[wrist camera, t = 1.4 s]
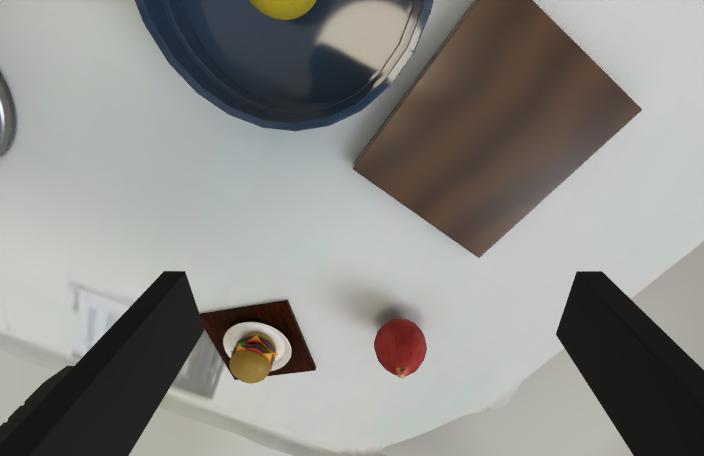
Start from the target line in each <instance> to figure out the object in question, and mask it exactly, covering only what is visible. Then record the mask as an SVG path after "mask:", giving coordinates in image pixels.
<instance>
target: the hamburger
mask: <svg viewBox="0 0 704 456" xmlns="http://www.w3.org/2000/svg"><path fill="white" fill-rule="evenodd" d="M199 315H200V318H201V321H202V324H203V327H204V328H205V330H206V332H207V333H208V335H209V337H210V339H211V340H212V342H213V344H214V345H215V347H216V349H217V350H218V352H219V354H220V355H221V357H222V359H223V360H224V362H225V364H226V366H227V367H228V369H229V371H230V372H231V374H232V376H233V377H234V379H235V380H238V379H239V380H241V381H243V382H246V383H257V382H259V381H261V380H263V379H264V378H265V377H266V376H271V375H280V374H288V373H297V372H305V371H314V370H316V366H315V364H314V362H313V359H312V357H311V354H310V352H309V350H308V347H307V345H306V343H305V340H304V338H303V335H302V333H301V331H300V328H299V326H298V323H297V321H296V319H295V316H294V314H293V312H292V309H291V307H290V304H289V302H288V300H286V301H279V302H273V303H267V304H260V305H254V306H248V307H241V308H235V309H228V310H222V311H216V312H209V313H203V314H199Z"/></svg>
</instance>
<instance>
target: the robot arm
mask: <svg viewBox="0 0 704 456" xmlns="http://www.w3.org/2000/svg"><path fill="white" fill-rule="evenodd" d="M14 133H15V112H14V107H13V103H12V99H11V96H10V93H9V91H8V88H7V86H6V84H5V81H4V79H3V77H2V75H1V74H0V157H1V156H2V155H3V154H4V153H5V152H6V151H7V150H8V148H9V147H10V145H11V143H12V140H13V137H14ZM203 331H204V327H203V324H202V321H201V318H200V315H199V312H198V309H197V306H196V303H195V300H194V297H193V294H192V291H191V288H190V285H189V282H188V279H187V276H186V273H185V271H164V272H163V273H162V274H161V275H160V276H159V277H158V278H157V279H156V280H155V282H154V283H153V284H152V285H151V286H150V287H149V288H148V289H147V290H146V291H145V292H144V293H143V294H142V295H141V296H140V297H139V298H138V299H137V301H136V302H135V303H134V304H133V305H132V306H131V307H130V308H129V309H128V310H127V311H126V312H125V313H124V314H123V315H122V316H121V317H120V318H119V320H118V321H117V322H116V323H115V324H114V325H113V326H112V327H111V328H110V329H109V330H108V331H107V332H106V333H105V334H104V335H103V336H102V337H101V339H100V340H99V341H98V342H97V343H96V344H95V345H94V346H93V347H92V348H91V349H90V350H89V351H88V352H87V353H86V354H85V355H84V356H83V358H82V359H81V360H80V361H79V362H78V363H77V364H76V365H75V366H67V367H65V368H64V369H62V370H61V371H59V372H58V373H57V374H55V375H54V376H52V377H51V378H49V379H48V380H46V381H45V382H44V383H43V384H42V385H41V386H40V387H39V388H38V389H37V390H36V391H35V392H34V393H33V394H32V395H31V396H30V397H29V398H28V399H27V400H26V401H25V404H24V405H23V406H20V407H19V408H18V409H17V410H16V411H15V412H14V413H13V414H12V415H11V416H10V417H9V418H8V421H7V422H6V423H3V424H2V425H1V426H0V456H128V455H129V453H130V452H131V450H132V449H133V447H134V446H135V444H136V442H137V441H138V439H139V437H140V436H141V434H142V432H143V431H144V429H145V427H146V426H147V424H148V422H149V421H150V419H151V417H152V416H153V414H154V412H155V411H156V409H157V408H158V406H159V404H160V403H161V401H162V399H163V398H164V396H165V394H166V393H167V391H168V389H169V388H170V386H171V384H172V383H173V381H174V379H175V378H176V376H177V374H178V373H179V371H180V370H181V368H182V366H183V365H184V363H185V361H186V360H187V358H188V356H189V355H190V353H191V351H192V350H193V348H194V346H195V345H196V343H197V341H198V340H199V338H200V336H201V335H202V333H203ZM556 335H557V337H558V338H559V340H560V341H561V343H562V345H563V346H564V348H565V349H566V350H567V352H568V354H569V355H570V357H571V359H572V360H573V362H574V363H575V365H576V366H577V368H578V369H579V371H580V373H581V374H582V376H583V377H584V379H585V380H586V382H587V383H588V385H589V386H590V388H591V389H592V391H593V393H594V394H595V396H596V397H597V399H598V401H599V402H600V404H601V405H602V407H603V408H604V410H605V411H606V413H607V415H608V416H609V418H610V419H611V421H612V422H613V424H614V425H615V427H616V429H617V430H618V432H619V433H620V435H621V436H622V438H623V440H624V441H625V443H626V444H627V446H628V447H629V449H630V450H631V452H632V453H633V455H634V456H704V370H703V369H702V368H701V367H700V366H699V365H698V364H697V363H696V362H694V360H693V359H691V358H690V357H689V356H688V355H687V354H686V353H685V352H684V351H683V350H682V349H681V348H680V347H679V346H678V345H677V344H676V343H675V342H674V341H673V340H672V339H671V338H670V337H669V336H667V334H666V333H665V332H664V331H663V330H662V329H661V328H660V327H658V326H657V325H656V324H655V323H654V322H653V321H652V320H651V319H650V318H649V317H648V316H647V315H646V314H645V313H644V312H643V311H642V310H641V309H640V308H639V307H638V306H637V305H636V304H635V303H634V302H633V301H632V300H631V299H630V298H629V297H628V296H627V295H625V294H624V293H623V292H622V291H621V290H620V289H619V288H618V287H617V286H616V285H615V284H614V283H613V282H612V281H611V280H610V279H609V278H608V277H607V276H606V275H605V274H604V273H603V272H577V273H576V276H575V279H574V282H573V285H572V288H571V291H570V294H569V297H568V300H567V303H566V306H565V309H564V312H563V315H562V318H561V321H560V324H559V327H558V330H557V333H556Z"/></svg>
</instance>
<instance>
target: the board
mask: <svg viewBox="0 0 704 456" xmlns="http://www.w3.org/2000/svg"><path fill="white" fill-rule="evenodd" d="M641 110H642V109H641V108H640V107H639V106H638V105H637V104H636V103H635V102H634V101H633V100H632V99H631V98H630V97H629V96H628V95H627V94H626V93H625V92H624V91H623V90H622V89H621V88H620V87H619V86H618V85H617V84H616V83H615V82H614V81H613V80H612V79H611V78H610V77H609V76H608V75H607V74H606V73H605V72H604V71H603V70H602V69H601V68H600V67H599V66H598V65H597V64H596V63H595V62H594V61H593V60H592V59H591V58H590V57H589V56H588V55H587V54H586V53H585V52H584V51H583V50H582V49H581V48H580V47H579V46H578V45H577V44H576V43H575V42H574V41H573V40H572V39H571V38H570V37H569V36H568V35H567V34H566V33H565V32H564V31H563V30H562V29H561V28H560V27H559V26H558V25H557V24H556V23H555V22H554V21H553V20H552V19H551V18H550V17H549V16H548V15H547V14H546V13H545V12H544V11H543V10H542V9H541V8H540V7H539V6H538V5H537V4H536V3H535V2H534V1H533V0H475V1H474V2H473V4H472V5H471V7H470V8H469V9H468V11H467V12H466V13H465V15H464V16H463V17H462V19H461V20H460V21H459V23H458V24H457V25H456V27H455V28H454V30H453V31H452V32H451V34H450V35H449V36H448V38H447V39H446V40H445V42H444V43H443V44H442V46H441V47H440V48H439V50H438V51H437V53H436V54H435V55H434V57H433V58H432V59H431V61H430V62H429V63H428V65H427V66H426V67H425V69H424V70H423V71H422V73H421V74H420V75H419V77H418V78H417V80H416V81H415V82H414V84H413V85H412V86H411V88H410V89H409V90H408V92H407V93H406V94H405V96H404V97H403V98H402V100H401V101H400V103H399V104H398V105H397V107H396V108H395V109H394V111H393V112H392V113H391V115H390V116H389V117H388V119H387V120H386V121H385V123H384V124H383V126H382V127H381V128H380V130H379V131H378V132H377V134H376V135H375V136H374V138H373V139H372V140H371V142H370V143H369V144H368V146H367V147H366V149H365V150H364V151H363V153H362V154H361V155H360V157H359V158H358V159H357V161H356V162H355V163H354V167H353V169H354V170H355V171H356V172H358V173H359V174H361V175H362V176H363V177H365V178H366V179H368V180H369V181H371V182H372V183H373V184H375V185H376V186H378V187H379V188H381V189H382V190H383V191H385V192H386V193H388V194H389V195H390V196H392V197H393V198H395V199H396V200H398V201H399V202H400V203H402V204H403V205H405V206H406V207H407V208H409V209H410V210H412V211H413V212H415V213H416V214H417V215H419V216H420V217H422V218H423V219H424V220H426V221H427V222H429V223H430V224H432V225H433V226H434V227H436V228H437V229H439V230H440V231H441V232H443V233H444V234H446V235H447V236H449V237H450V238H451V239H453V240H454V241H456V242H457V243H458V244H460V245H461V246H463V247H464V248H466V249H467V250H468V251H470V252H471V253H473V254H474V255H476V256H477V257H478V258H480V257H481V256H482V255H483V254H484V253H485V252H486V251H487V250H488V249H489V248H491V247H492V246H493V245H494V244H495V243H496V242H497V241H498V240H499V239H500V238H502V237H503V236H504V235H505V234H506V233H507V232H508V231H509V230H510V229H511V228H513V227H514V226H515V225H516V224H517V223H518V222H519V221H520V220H521V219H522V218H524V217H525V216H526V215H527V214H528V213H529V212H530V211H531V210H532V209H533V208H535V207H536V206H537V205H538V204H539V203H540V202H541V201H542V200H543V199H544V198H546V197H547V196H548V195H549V194H550V193H551V192H552V191H553V190H554V189H555V188H557V187H558V186H559V185H560V184H561V183H562V182H563V181H564V180H565V179H566V178H568V177H569V176H570V175H571V174H572V173H573V172H574V171H575V170H576V169H577V168H579V167H580V166H581V165H582V164H583V163H584V162H585V161H586V160H587V159H588V158H590V157H591V156H592V155H593V154H594V153H595V152H596V151H597V150H598V149H599V148H601V147H602V146H603V145H604V144H605V143H606V142H607V141H608V140H609V139H610V138H612V137H613V136H614V135H615V134H616V133H617V132H618V131H619V130H620V129H621V128H623V127H624V126H625V125H626V124H627V123H628V122H629V121H630V120H631V119H632V118H634V117H635V116H636V115H637V114H638V113H639V112H640V111H641Z"/></svg>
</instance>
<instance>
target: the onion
mask: <svg viewBox="0 0 704 456" xmlns="http://www.w3.org/2000/svg"><path fill="white" fill-rule="evenodd" d="M374 348H375V352H376V355H377V358H378V361H379V362H380V363H381V364H382V366H383V367H384V368H385V369H386V370H387V371H389V372H391V373H392V374H394V375H398V377H399V378H404V377H405V376H407V375H409V374H411V373H414V372H415V371H416V370H417V369H418V368H419V366H420V365H421V363H422V362H423V361H424V358H425V354H426V349H427V347H426V341H425V337H424V335H423V333H422V331H421V330H420V329H419V327H418V326H417V325H416V324H415V323H413V322H411V321H409V320H406V319H393V320H390V321H388V322H386V323H385V324H384V325H383V326H382V327H381V328H380V329H379V330H378V332H377V335H376V338H375V341H374Z"/></svg>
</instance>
